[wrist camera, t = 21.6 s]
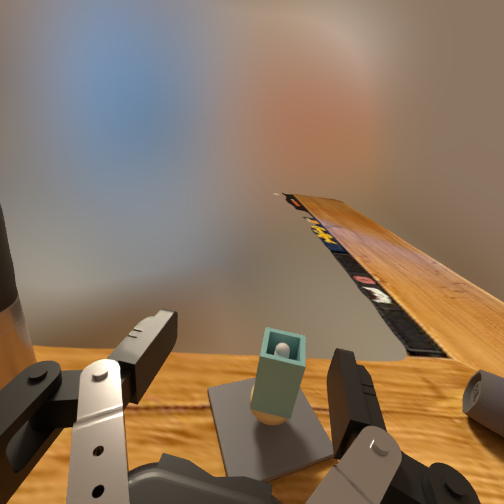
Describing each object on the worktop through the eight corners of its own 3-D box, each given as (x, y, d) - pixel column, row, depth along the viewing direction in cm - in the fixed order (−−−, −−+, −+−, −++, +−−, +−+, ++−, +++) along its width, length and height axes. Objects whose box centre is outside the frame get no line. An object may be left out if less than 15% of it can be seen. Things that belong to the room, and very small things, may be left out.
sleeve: (250, 408, 38) (259, 356, 34) (256, 376, 43) (265, 327, 39) (290, 419, 37) (305, 366, 33) (292, 384, 42) (305, 335, 38)
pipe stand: (230, 495, 33) (245, 410, 27) (207, 391, 46) (213, 317, 39) (335, 456, 39) (368, 378, 33) (289, 374, 52) (306, 306, 45)
